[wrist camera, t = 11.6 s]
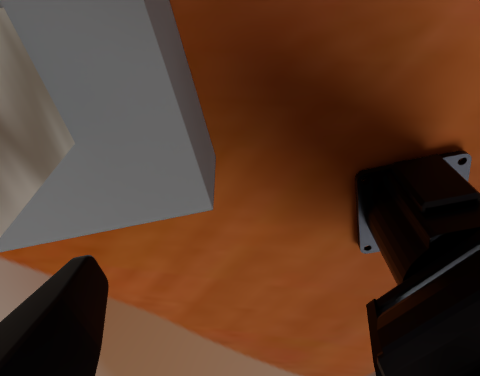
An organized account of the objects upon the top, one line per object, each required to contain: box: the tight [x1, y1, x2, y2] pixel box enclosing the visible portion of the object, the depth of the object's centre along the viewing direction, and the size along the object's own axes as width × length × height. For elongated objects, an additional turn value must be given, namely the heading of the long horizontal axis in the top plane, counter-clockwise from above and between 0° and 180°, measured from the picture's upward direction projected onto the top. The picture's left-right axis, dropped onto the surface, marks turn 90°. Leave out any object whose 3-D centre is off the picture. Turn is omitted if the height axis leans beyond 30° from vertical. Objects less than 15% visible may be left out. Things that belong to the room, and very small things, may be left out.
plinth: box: [0, 0, 216, 252], centre depth 15 cm, size 14×14×5 cm
